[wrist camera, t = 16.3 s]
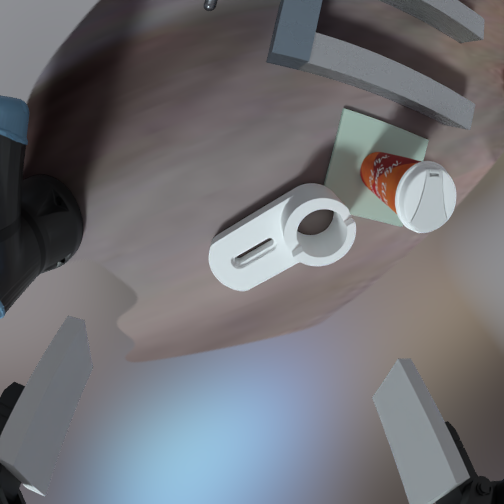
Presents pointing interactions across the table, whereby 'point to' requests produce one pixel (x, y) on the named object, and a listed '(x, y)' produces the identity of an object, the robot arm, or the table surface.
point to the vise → (375, 55)
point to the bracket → (281, 238)
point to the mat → (356, 150)
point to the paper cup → (411, 189)
